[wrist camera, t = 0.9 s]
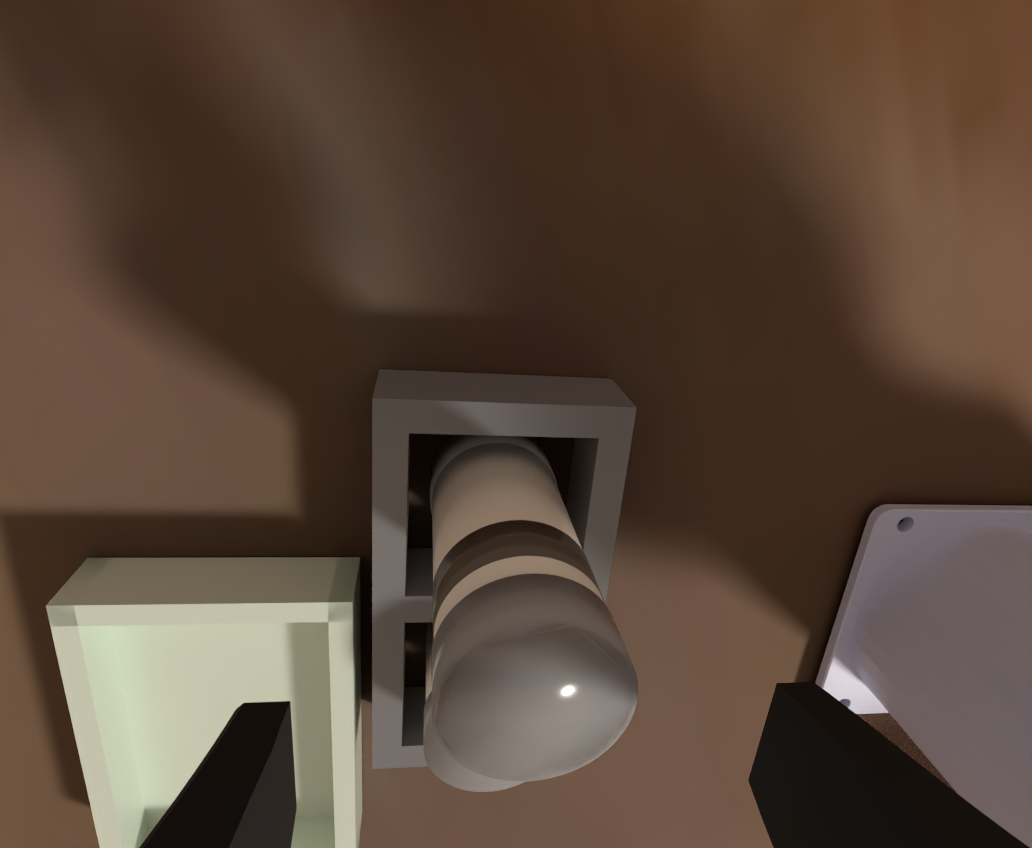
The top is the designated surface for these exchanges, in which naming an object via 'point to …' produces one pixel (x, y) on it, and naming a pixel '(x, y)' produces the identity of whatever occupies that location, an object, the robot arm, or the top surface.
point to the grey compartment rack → (409, 571)
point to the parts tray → (211, 680)
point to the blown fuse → (518, 619)
